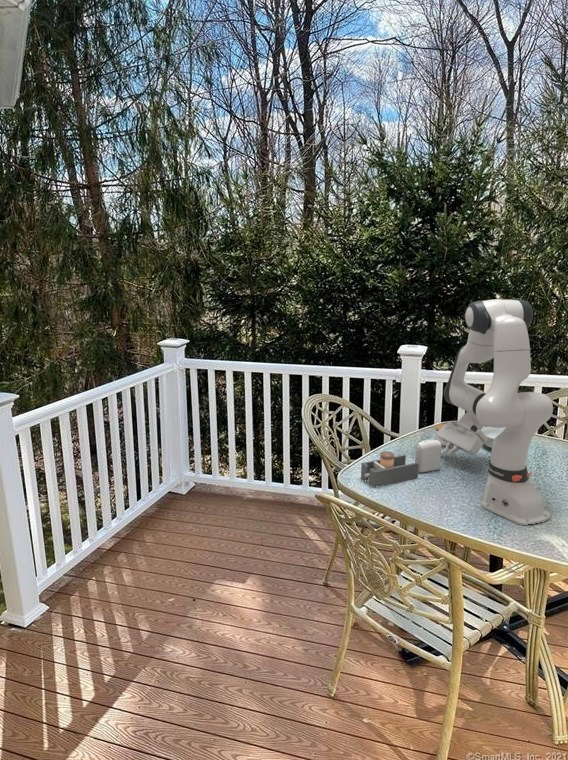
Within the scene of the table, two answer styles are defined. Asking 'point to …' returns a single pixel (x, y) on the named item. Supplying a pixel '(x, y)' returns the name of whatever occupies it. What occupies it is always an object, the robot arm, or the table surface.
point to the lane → (390, 472)
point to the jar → (387, 459)
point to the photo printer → (428, 455)
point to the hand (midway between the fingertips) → (446, 454)
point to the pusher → (376, 468)
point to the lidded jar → (436, 433)
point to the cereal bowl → (491, 434)
